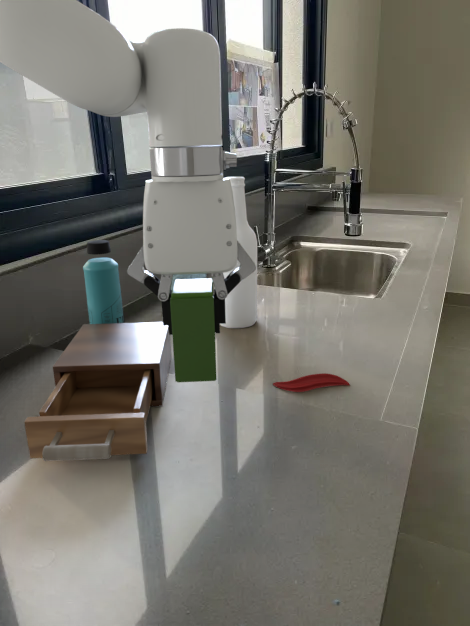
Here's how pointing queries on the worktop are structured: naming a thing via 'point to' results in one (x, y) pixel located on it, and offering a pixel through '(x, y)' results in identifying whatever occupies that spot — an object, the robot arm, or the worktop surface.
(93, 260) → the beverage bottle
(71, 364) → the cabinet
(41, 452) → the drawer
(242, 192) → the alcohol
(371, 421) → the worktop surface
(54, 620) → the worktop surface
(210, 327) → the tall green carton
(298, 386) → the cayenne pepper
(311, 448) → the worktop surface
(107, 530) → the worktop surface
